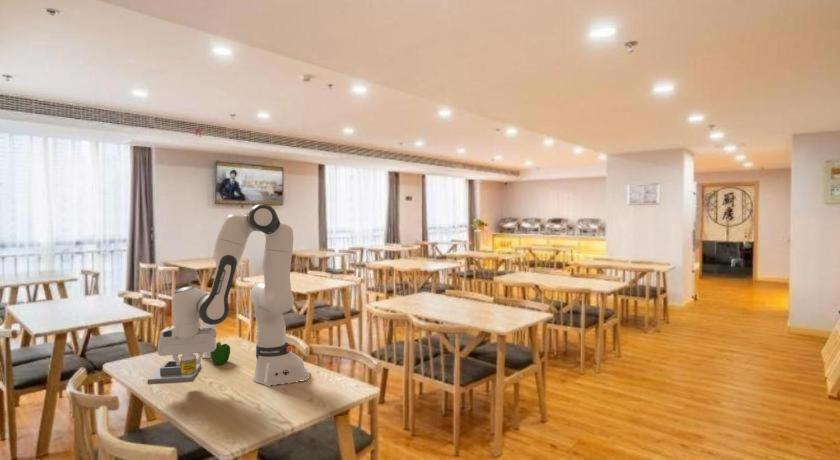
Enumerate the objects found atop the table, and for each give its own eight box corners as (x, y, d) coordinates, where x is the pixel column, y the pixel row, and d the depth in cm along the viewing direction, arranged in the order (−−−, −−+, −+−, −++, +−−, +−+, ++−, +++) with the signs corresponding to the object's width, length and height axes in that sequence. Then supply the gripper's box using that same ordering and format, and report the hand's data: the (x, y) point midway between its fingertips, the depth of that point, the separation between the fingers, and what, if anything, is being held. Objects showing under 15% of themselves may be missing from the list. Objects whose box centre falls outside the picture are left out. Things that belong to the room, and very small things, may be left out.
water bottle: (213, 353, 222) (213, 301, 221) (217, 356, 217) (217, 303, 215) (193, 356, 216) (193, 303, 215) (197, 360, 211) (197, 305, 210)
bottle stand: (200, 366, 203) (200, 356, 203) (191, 380, 188) (191, 369, 187) (160, 368, 200) (160, 358, 199) (147, 383, 184) (147, 371, 184)
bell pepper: (219, 358, 214) (219, 337, 213) (234, 361, 211) (234, 339, 211) (205, 364, 206) (205, 342, 206) (220, 367, 203) (220, 344, 203)
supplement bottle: (195, 371, 184) (194, 347, 183) (197, 375, 179) (197, 350, 179) (180, 373, 181) (179, 349, 180) (182, 378, 176) (181, 353, 176)
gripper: (217, 324, 184) (219, 359, 185) (160, 328, 179) (162, 363, 180) (214, 329, 178) (215, 364, 179) (155, 333, 173) (157, 369, 174)
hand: (188, 364), depth 180 cm, fingers closed on supplement bottle, 5 cm apart
